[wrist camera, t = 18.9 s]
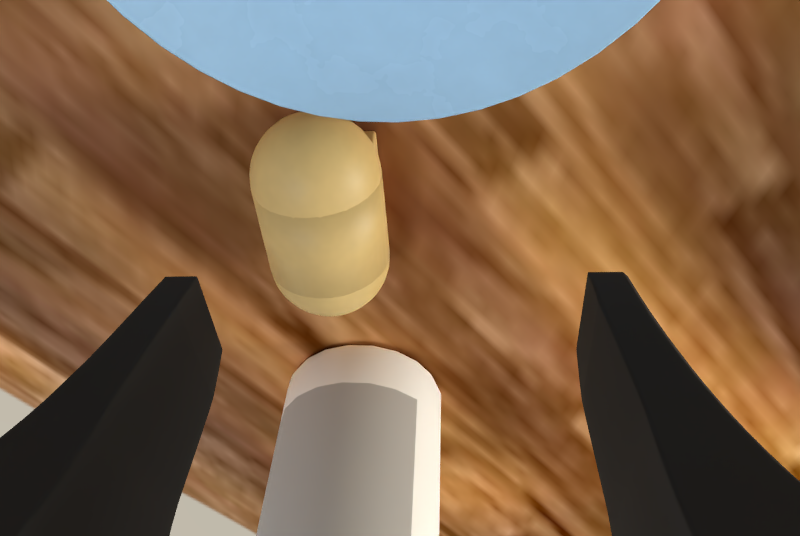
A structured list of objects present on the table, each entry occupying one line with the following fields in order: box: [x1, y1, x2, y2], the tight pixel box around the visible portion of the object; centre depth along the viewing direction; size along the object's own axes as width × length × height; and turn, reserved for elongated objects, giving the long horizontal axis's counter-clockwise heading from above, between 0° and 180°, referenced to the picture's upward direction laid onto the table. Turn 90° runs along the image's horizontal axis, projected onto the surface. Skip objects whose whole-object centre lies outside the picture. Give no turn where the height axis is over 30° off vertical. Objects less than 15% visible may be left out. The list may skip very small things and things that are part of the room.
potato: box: [249, 112, 390, 317], centre depth 23 cm, size 7×4×4 cm, turn 4°
